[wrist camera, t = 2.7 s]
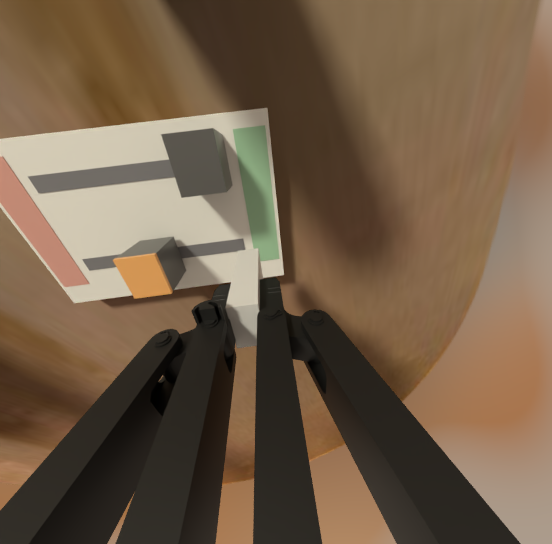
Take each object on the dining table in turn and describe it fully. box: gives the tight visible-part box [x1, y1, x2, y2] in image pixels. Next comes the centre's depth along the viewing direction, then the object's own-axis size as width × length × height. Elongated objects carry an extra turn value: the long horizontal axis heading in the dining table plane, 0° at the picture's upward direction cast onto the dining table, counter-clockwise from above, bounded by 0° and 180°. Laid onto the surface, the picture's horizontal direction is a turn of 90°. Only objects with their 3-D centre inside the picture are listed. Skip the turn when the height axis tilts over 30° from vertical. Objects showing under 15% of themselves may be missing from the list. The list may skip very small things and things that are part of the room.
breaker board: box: [0, 108, 284, 303], centre depth 17 cm, size 22×14×6 cm, turn 97°
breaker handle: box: [113, 236, 186, 299], centre depth 17 cm, size 3×4×4 cm
